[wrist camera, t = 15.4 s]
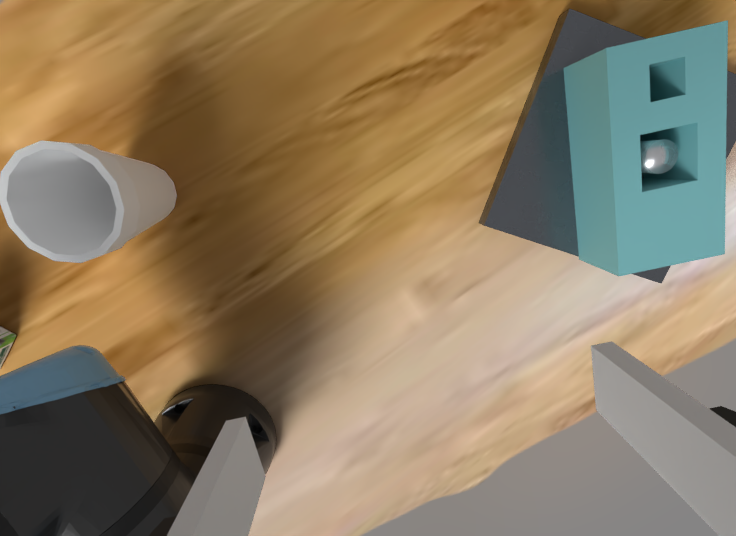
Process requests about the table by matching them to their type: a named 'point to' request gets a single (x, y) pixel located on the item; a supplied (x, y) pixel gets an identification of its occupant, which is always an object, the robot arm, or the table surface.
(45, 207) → the foam cup
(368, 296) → the table surface
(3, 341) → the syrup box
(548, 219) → the base
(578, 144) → the teal block with holes
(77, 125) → the table surface
